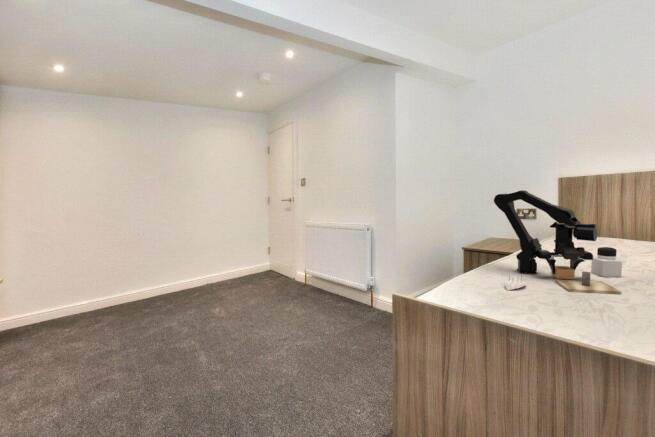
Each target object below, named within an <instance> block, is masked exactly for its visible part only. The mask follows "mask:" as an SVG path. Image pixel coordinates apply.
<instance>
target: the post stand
mask: <svg viewBox="0 0 655 437" xmlns="http://www.w3.org/2000/svg"><path fill="white" fill-rule="evenodd" d="M554 283H556V284H557V285H558V286H559V287H561V288H563V289H564V290H565V291H567V292H568V293H589V294H609V295H610V294H611V295H622V291H621V290H620V289H618V288H616V287H615V286H612V285H611V284H608V283H606V282H605V281H601V280H591V271H582V272H581V280H579V279H578V280H577V279H576V280H575V279H557V278H555V279H554Z"/></svg>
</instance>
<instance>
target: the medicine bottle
mask: <svg viewBox="0 0 655 437" xmlns="http://www.w3.org/2000/svg"><path fill="white" fill-rule="evenodd" d="M617 251H618V250H617V249H616V248H614V247H610V246H600V247H597V253H596V254H597V255H596V256H593V260H591V270H590V273H593V274H595V275H597V276H599V277H605V278H606V277H607V278H621V277H622V264H623V261H622V260H621V259H620V260H619V259H618V258H617Z"/></svg>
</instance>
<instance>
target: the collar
mask: <svg viewBox="0 0 655 437" xmlns="http://www.w3.org/2000/svg"><path fill="white" fill-rule="evenodd" d="M575 271H576V269H575V270H574V269H572V268H570V266H568V265H566V266H565V265H555V274H553V273H552V271H551V270H550V272H551V276H552V277H554V278H555V279H556V280H575Z"/></svg>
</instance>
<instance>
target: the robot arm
mask: <svg viewBox="0 0 655 437" xmlns="http://www.w3.org/2000/svg"><path fill="white" fill-rule="evenodd" d="M519 200H520V201H523V202H525V203H527V204H529V205H531V206H532V207H535V208H536V209H538V210H540V211H542V212H544V213H546V214H547V215H548V216H549V217H550V218H551V219H552V220H554V222H553V223H552V224H550V225H549V228H553V229H555V234H554V235H555V237H554V238H555V239H553V243H554V248H553V252H551V251H549V250H546V249H542V247H543V245H542V244H541V243H540V242H539V239H538V237H536V238H533V237H532V236H531V235H530V234H529V233H530V232H529V231H528V230H527V229H526V226H525V225H524V223H523V222H522V219H521V218H520V216H519V214H518V213H517V211H516V209H515V201H519ZM493 203H494V204H495V205H496V207H497V208H498V209H499V210H500V211H501V212H502V213H504V215H505V216H506V218H507V221H508V222H509V224H510V226H511V228H512V230H513V231H514V233H515V234H516V236H517V238H518V240H519V247H520V250H521V251H520V252H518V253H517V254H516V255H515V256H516V258H517V268H516V271H518V272H519V274H531V275H532V274H533V275H535V274H538V272H537V271H538V263H537V261H536V260H537V259H536V258H538V259H540V260H545V261H546V262H547V264H548V266H549V268H550V272H551V271H552V273H553V274H555V266H556V261H557V260H556V259H555V257H556V258H558V257H559V258H563V259H564V260H568V261H569V267H570V268H572V269H574V270H575V271H576V269H577V267H578V266H579V265H580V264H581V263H584V262H586V261H592V260H593V257H594V254H593V253H592V252H589V251H588V250H586V249H585V248H584V247H583V246H579V247H578V246H577V247H575V243H574V241H573V238H574V239H576V240H577V241H587V242H589V241H590V242H597V240H598V238H597V237H598V233H599V232H598V229H597V225H596V224H595V223H581V222H580V221H579V220H578V218H576V215H575V211H574V210H573V209H570V208H567V207H563V206H560V205H556V204H553V203H551V202H549V201H547V200H545V199H542V198H540V197H538V196H536V195H534V194H532V193H530V192H528V191H527V190H523V189H522V190H518V191H515V192H512V193H499V194H496V195H495V196H494V198H493Z"/></svg>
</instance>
